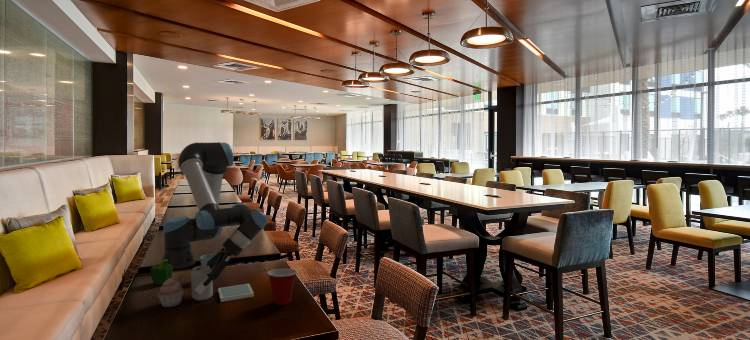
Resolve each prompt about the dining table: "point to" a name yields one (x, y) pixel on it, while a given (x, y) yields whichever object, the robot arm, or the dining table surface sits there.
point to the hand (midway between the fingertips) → (196, 286)
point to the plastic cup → (282, 285)
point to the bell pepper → (161, 272)
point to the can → (196, 278)
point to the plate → (235, 292)
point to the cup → (206, 259)
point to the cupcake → (170, 293)
